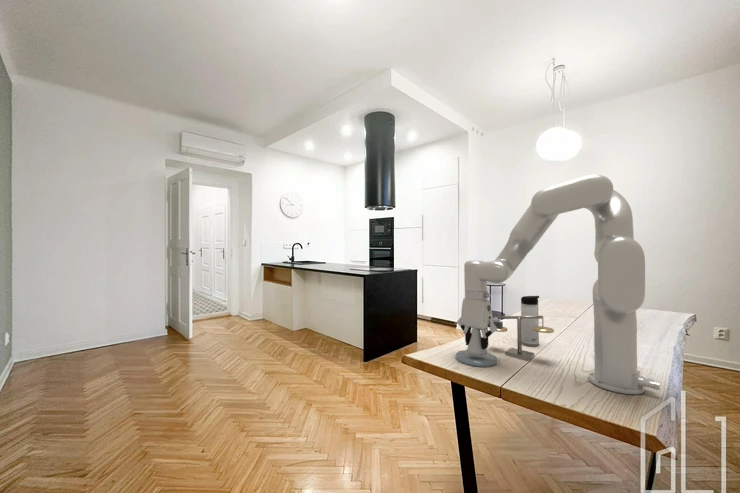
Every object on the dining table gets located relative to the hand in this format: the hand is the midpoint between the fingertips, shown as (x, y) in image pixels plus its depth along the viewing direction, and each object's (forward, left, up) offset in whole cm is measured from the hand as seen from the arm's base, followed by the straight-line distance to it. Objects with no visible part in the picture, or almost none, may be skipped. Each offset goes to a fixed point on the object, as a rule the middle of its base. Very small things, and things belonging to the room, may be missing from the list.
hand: (476, 345), depth 106 cm
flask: (0, 0, -3) cm, 3 cm away
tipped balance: (-9, -15, -5) cm, 18 cm away
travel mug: (-7, -31, -5) cm, 32 cm away
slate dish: (0, 0, -5) cm, 5 cm away
